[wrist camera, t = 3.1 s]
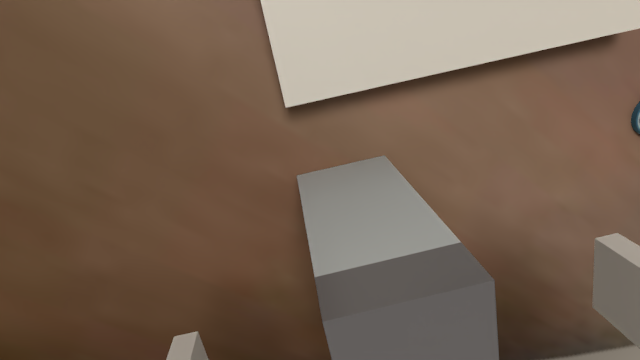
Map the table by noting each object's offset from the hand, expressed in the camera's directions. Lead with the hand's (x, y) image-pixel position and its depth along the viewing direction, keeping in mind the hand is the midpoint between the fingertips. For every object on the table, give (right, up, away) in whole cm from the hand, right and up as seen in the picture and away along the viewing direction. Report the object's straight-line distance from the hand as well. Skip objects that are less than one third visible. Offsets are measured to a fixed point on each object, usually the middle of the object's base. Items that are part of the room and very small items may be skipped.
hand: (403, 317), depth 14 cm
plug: (-1, +3, +8) cm, 9 cm away
